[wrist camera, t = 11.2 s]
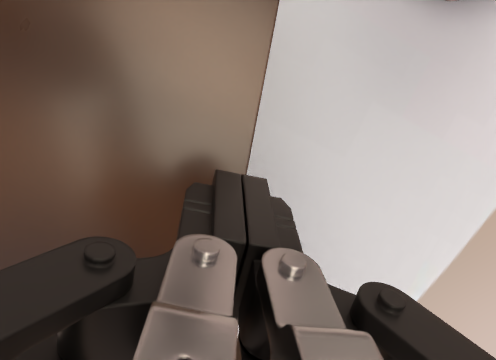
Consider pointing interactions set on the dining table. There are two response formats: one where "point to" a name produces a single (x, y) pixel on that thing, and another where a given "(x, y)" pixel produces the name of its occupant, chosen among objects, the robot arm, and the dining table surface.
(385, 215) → the dining table surface
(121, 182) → the cabinet
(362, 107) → the dining table surface
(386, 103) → the dining table surface
